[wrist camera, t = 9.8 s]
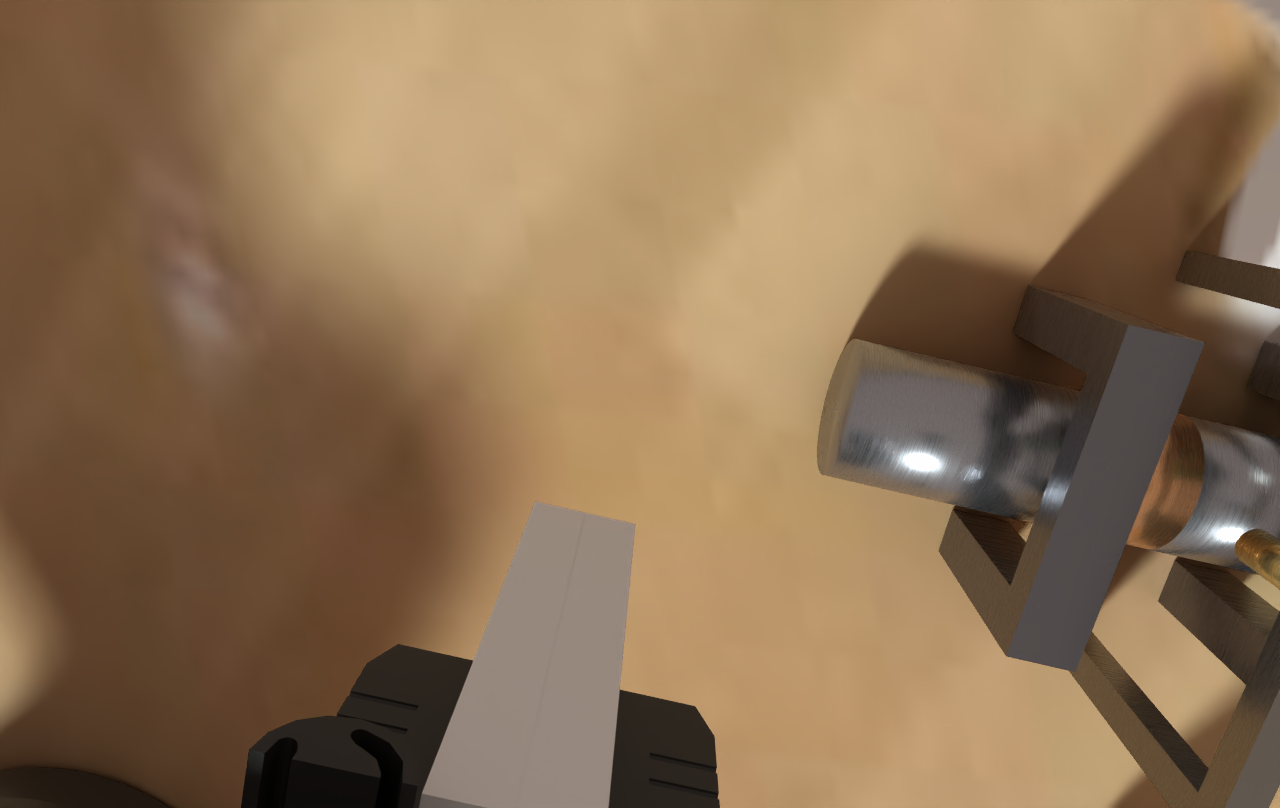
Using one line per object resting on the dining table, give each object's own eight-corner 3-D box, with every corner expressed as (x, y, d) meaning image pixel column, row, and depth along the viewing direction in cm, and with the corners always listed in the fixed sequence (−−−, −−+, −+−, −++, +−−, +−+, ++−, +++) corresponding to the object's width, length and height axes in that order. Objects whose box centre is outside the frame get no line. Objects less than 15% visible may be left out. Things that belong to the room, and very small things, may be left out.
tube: (811, 446, 33) (828, 497, 29) (847, 324, 32) (871, 359, 27) (1313, 561, 33) (1403, 628, 29) (1371, 446, 32) (1474, 498, 28)
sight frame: (1041, 634, 34) (1204, 853, 24) (1186, 250, 31) (1456, 305, 20) (1068, 640, 34) (1243, 861, 24) (1217, 257, 31) (1502, 315, 20)
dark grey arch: (938, 551, 34) (1006, 656, 27) (1028, 285, 31) (1128, 325, 24) (993, 563, 34) (1075, 672, 27) (1087, 299, 31) (1205, 342, 24)
